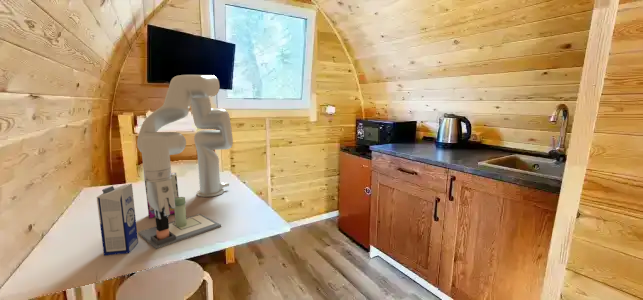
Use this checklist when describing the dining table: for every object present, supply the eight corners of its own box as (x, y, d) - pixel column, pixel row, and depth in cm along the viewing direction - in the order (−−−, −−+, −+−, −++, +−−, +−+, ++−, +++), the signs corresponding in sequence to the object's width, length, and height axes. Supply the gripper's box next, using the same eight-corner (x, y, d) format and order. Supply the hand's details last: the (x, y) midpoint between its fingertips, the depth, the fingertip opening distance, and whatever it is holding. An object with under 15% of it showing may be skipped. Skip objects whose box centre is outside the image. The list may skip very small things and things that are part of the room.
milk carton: (129, 253, 87) (121, 189, 84) (103, 255, 86) (95, 190, 82) (138, 242, 94) (132, 182, 91) (115, 244, 93) (107, 183, 89)
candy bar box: (179, 209, 122) (176, 172, 120) (180, 213, 118) (177, 174, 115) (149, 214, 117) (145, 175, 115) (148, 218, 113) (144, 178, 110)
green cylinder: (184, 222, 108) (182, 196, 106) (188, 224, 105) (187, 198, 104) (173, 225, 105) (171, 198, 103) (178, 228, 102) (176, 201, 101)
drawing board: (200, 215, 116) (200, 210, 116) (221, 226, 106) (220, 221, 106) (138, 233, 100) (138, 228, 100) (156, 248, 90) (155, 243, 89)
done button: (167, 235, 97) (166, 226, 96) (171, 238, 95) (170, 229, 94) (155, 238, 94) (154, 230, 94) (159, 242, 92) (158, 233, 91)
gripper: (180, 176, 89) (184, 232, 92) (161, 168, 99) (165, 219, 102) (153, 181, 84) (159, 240, 87) (136, 172, 93) (142, 226, 96)
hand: (162, 229), depth 94 cm, fingers closed
